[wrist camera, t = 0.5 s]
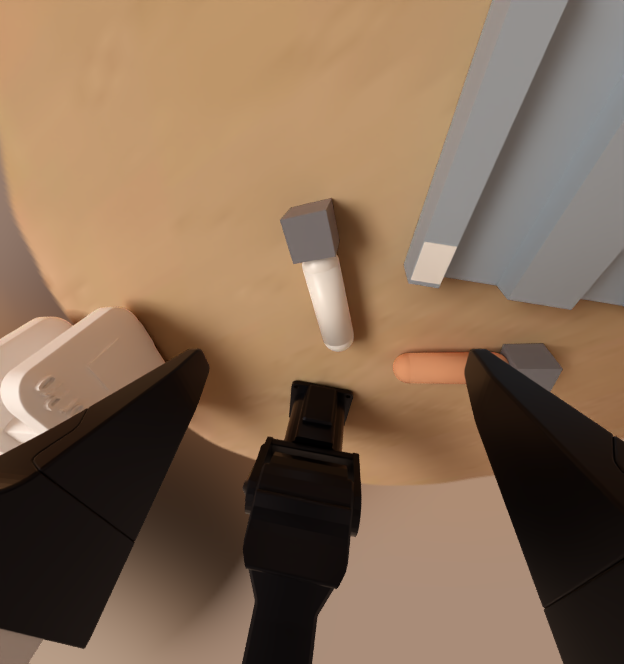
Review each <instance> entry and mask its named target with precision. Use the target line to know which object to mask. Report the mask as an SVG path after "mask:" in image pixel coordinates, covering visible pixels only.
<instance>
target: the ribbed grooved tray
mask: <svg viewBox="0 0 624 664" xmlns="http://www.w3.org/2000/svg"><path fill="white" fill-rule="evenodd" d="M404 268H405V272H406V276H407V280H408V283H410V284H416V285H422V286H428V287H434V288H439V287H440V284H441V282H442V280H443V278H444V277H447V278H453V279H459V280H466V281H472V282H478V283H484V284H491V285H497V287H498V288H499V289H500V291H501V292H502V293H503V294H504V296H505V297H506V298H507V299H508V300H514V301H520V302H526V303H532V304H538V305H545V306H551V307H557V308H563V309H569V310H571V309H572V308H573V307H574V306H575V305H576V304H577V302H578V301H579V300H580V299H584V300H590V301H597V302H603V303H609V304H615V305H622V306H623V307H624V0H492V3H491V6H490V9H489V12H488V15H487V18H486V21H485V24H484V27H483V30H482V33H481V36H480V39H479V42H478V45H477V48H476V51H475V54H474V57H473V60H472V63H471V66H470V69H469V72H468V75H467V78H466V80H465V83H464V86H463V89H462V92H461V95H460V98H459V101H458V104H457V107H456V110H455V113H454V116H453V119H452V122H451V125H450V128H449V131H448V134H447V137H446V140H445V143H444V146H443V149H442V152H441V155H440V158H439V161H438V164H437V167H436V170H435V173H434V176H433V179H432V182H431V185H430V188H429V191H428V194H427V197H426V200H425V203H424V206H423V209H422V212H421V215H420V218H419V221H418V224H417V227H416V230H415V233H414V236H413V238H412V241H411V244H410V247H409V250H408V253H407V256H406V259H405V262H404Z"/></svg>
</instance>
